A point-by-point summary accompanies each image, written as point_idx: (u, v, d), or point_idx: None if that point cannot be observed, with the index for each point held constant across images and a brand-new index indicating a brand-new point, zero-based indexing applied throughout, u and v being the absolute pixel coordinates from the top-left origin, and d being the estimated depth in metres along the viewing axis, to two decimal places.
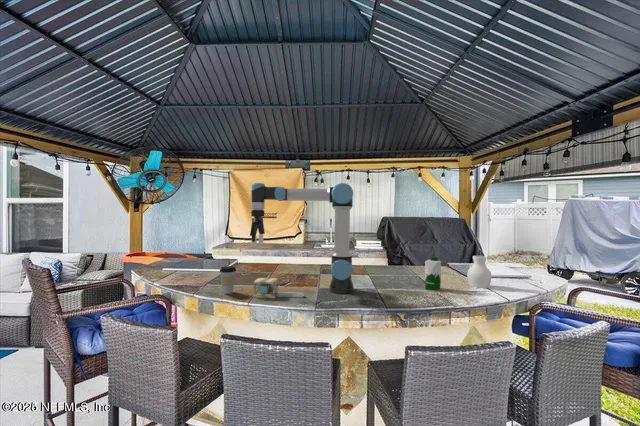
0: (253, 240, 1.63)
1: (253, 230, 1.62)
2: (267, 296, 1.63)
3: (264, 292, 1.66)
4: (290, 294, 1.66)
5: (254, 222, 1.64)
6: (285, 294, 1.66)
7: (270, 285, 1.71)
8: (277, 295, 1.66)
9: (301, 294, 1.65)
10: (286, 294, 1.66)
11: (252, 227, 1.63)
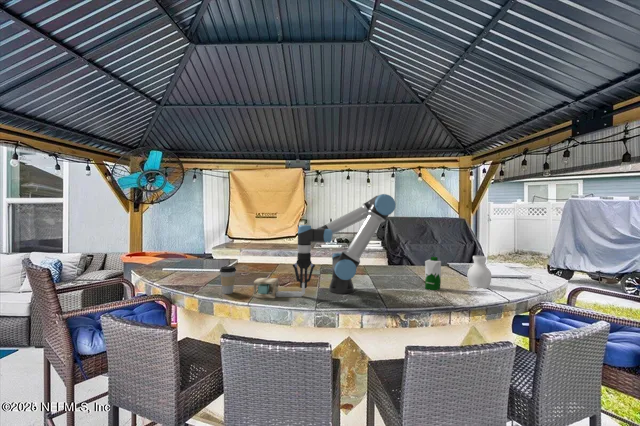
0: (300, 286, 1.66)
1: None
2: (267, 296, 1.63)
3: (264, 292, 1.66)
4: (289, 293, 1.66)
5: None
6: (284, 294, 1.66)
7: (270, 285, 1.71)
8: (276, 295, 1.66)
9: (300, 293, 1.66)
10: (285, 293, 1.66)
11: None
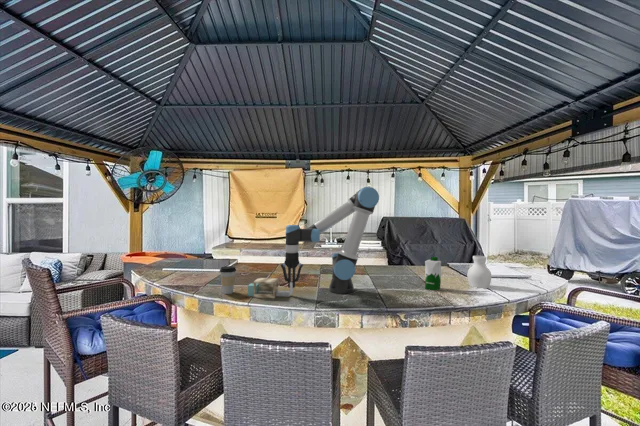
0: None
1: None
2: (267, 296, 1.63)
3: None
4: (277, 293, 1.67)
5: None
6: (272, 293, 1.67)
7: (270, 285, 1.71)
8: None
9: (288, 292, 1.67)
10: None
11: None
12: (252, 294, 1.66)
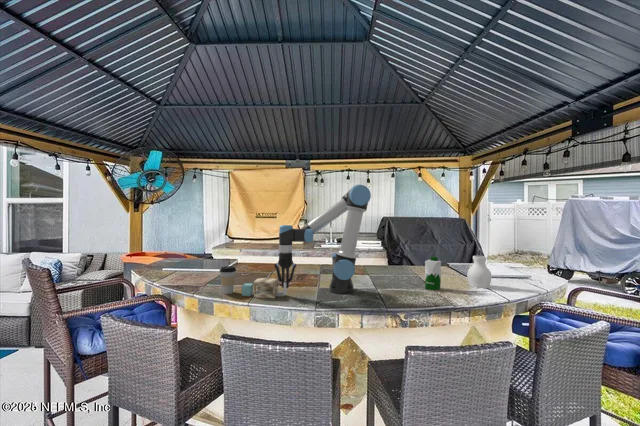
0: None
1: None
2: (267, 296, 1.63)
3: (248, 291, 1.67)
4: (271, 293, 1.67)
5: None
6: (266, 293, 1.67)
7: (270, 285, 1.71)
8: None
9: (282, 293, 1.67)
10: (267, 293, 1.67)
11: None
12: (246, 294, 1.67)
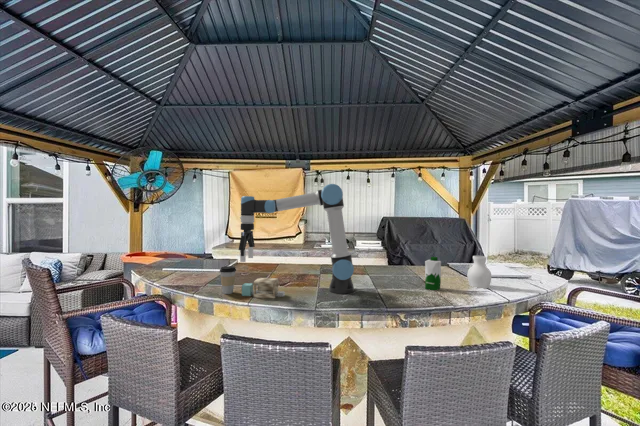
0: (242, 254, 1.61)
1: (242, 244, 1.60)
2: (267, 296, 1.63)
3: (247, 291, 1.67)
4: (271, 293, 1.67)
5: (243, 236, 1.62)
6: (266, 293, 1.67)
7: (270, 285, 1.71)
8: None
9: (281, 293, 1.66)
10: (267, 293, 1.67)
11: (241, 241, 1.60)
12: (246, 294, 1.67)
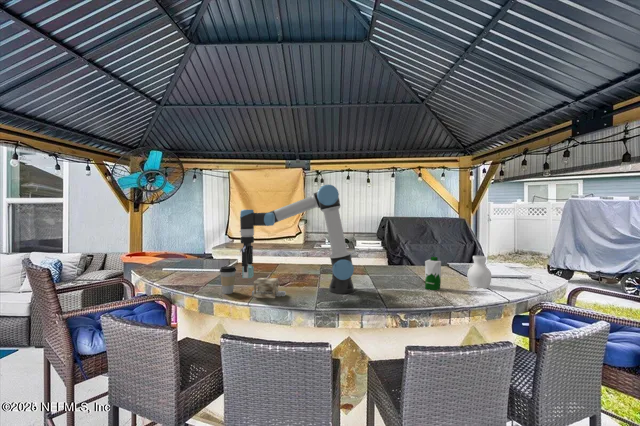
0: (245, 271, 1.65)
1: (244, 261, 1.63)
2: (267, 296, 1.63)
3: None
4: (272, 293, 1.67)
5: (244, 252, 1.63)
6: (267, 293, 1.67)
7: (270, 285, 1.71)
8: None
9: (283, 293, 1.67)
10: (268, 293, 1.67)
11: (243, 258, 1.63)
12: None
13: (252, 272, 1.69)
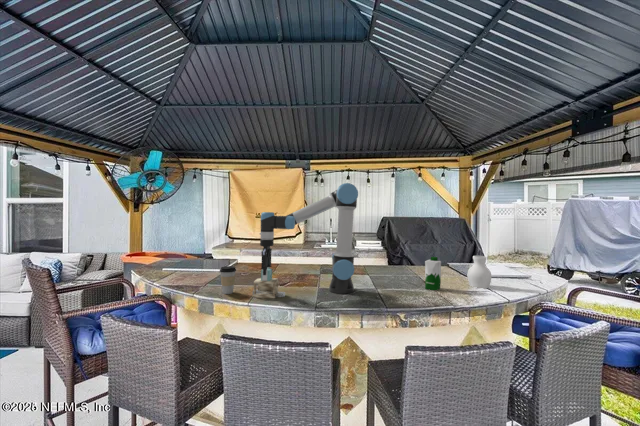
0: (264, 274, 1.64)
1: (264, 264, 1.62)
2: (267, 296, 1.63)
3: (267, 276, 1.65)
4: (271, 293, 1.67)
5: (264, 255, 1.62)
6: (267, 293, 1.67)
7: (270, 285, 1.71)
8: None
9: (282, 294, 1.65)
10: (267, 293, 1.67)
11: (262, 261, 1.62)
12: None
13: (271, 275, 1.68)
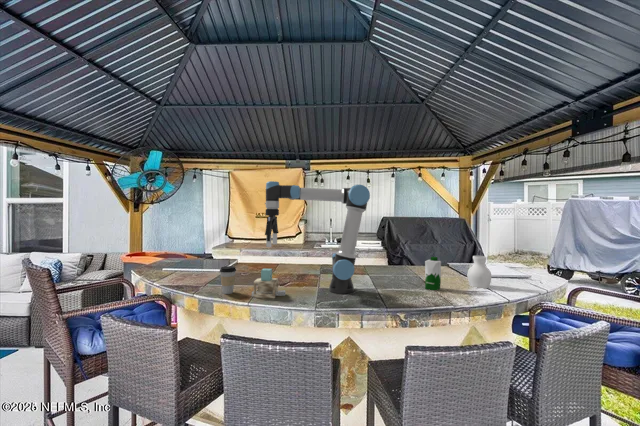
0: (268, 239, 1.59)
1: (268, 229, 1.58)
2: (267, 296, 1.63)
3: (267, 276, 1.65)
4: (272, 293, 1.68)
5: (269, 221, 1.60)
6: (267, 293, 1.67)
7: (270, 285, 1.71)
8: None
9: (283, 292, 1.69)
10: (268, 293, 1.67)
11: (267, 226, 1.59)
12: (265, 279, 1.65)
13: (271, 275, 1.68)
